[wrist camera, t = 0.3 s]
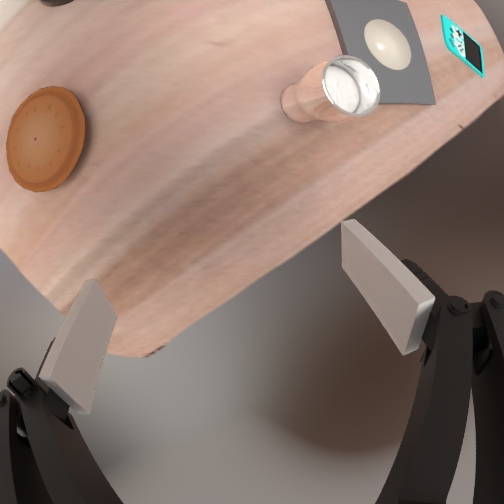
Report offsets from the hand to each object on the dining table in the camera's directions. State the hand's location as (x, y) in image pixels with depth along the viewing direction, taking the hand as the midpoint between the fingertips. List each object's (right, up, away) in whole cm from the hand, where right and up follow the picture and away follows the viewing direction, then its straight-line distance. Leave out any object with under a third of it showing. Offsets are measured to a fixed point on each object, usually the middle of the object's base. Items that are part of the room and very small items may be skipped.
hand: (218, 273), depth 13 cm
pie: (-28, +18, +16) cm, 37 cm away
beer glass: (+9, +22, +21) cm, 32 cm away
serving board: (+24, +36, +18) cm, 47 cm away
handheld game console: (+50, +48, +19) cm, 72 cm away
